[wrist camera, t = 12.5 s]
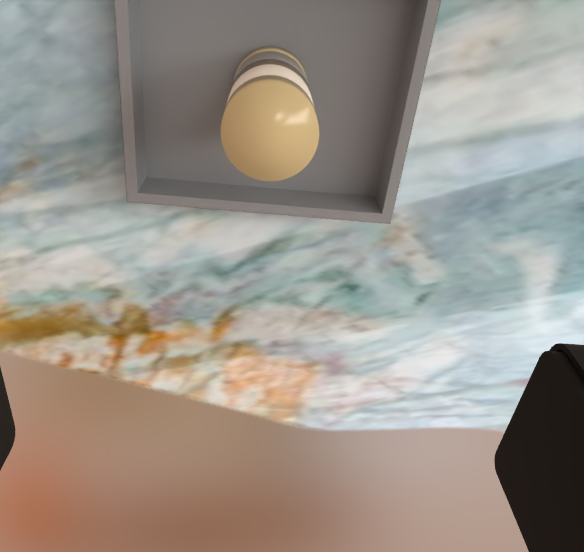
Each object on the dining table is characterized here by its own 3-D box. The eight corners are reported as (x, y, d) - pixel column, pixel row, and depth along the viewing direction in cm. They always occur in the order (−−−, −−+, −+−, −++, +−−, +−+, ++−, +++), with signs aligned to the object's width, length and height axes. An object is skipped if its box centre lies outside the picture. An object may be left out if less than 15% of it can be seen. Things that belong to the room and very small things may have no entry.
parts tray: (432, -37, 27) (448, -35, 24) (381, 202, 34) (390, 223, 31) (125, -75, 26) (109, -77, 23) (138, 181, 33) (127, 201, 30)
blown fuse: (311, 49, 28) (325, 88, 21) (303, 124, 30) (313, 185, 23) (235, 41, 28) (221, 78, 20) (232, 118, 30) (218, 177, 22)
